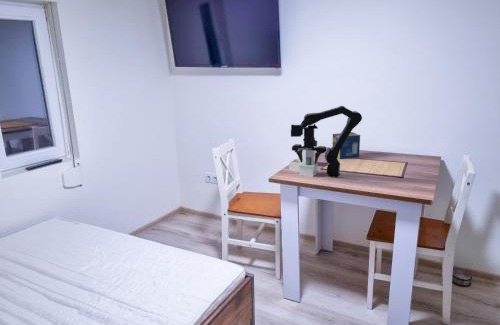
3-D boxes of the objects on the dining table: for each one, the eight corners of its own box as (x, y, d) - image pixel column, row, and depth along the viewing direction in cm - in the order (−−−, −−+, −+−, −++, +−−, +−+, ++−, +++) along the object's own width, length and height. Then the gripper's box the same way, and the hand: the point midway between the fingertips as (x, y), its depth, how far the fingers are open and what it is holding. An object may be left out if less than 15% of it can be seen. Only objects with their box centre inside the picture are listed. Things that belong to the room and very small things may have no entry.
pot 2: (317, 174, 217) (317, 164, 215) (312, 178, 210) (312, 168, 208) (304, 172, 220) (304, 163, 219) (299, 176, 213) (299, 166, 212)
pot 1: (306, 169, 227) (306, 160, 225) (302, 173, 220) (302, 163, 218) (294, 168, 230) (294, 158, 229) (289, 171, 224) (289, 162, 222)
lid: (318, 164, 215) (318, 156, 214) (313, 168, 208) (313, 160, 207) (304, 163, 219) (304, 155, 218) (298, 166, 212) (298, 158, 211)
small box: (313, 166, 234) (314, 145, 231) (305, 167, 231) (305, 147, 228) (305, 163, 241) (306, 143, 238) (297, 164, 238) (297, 144, 235)
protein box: (331, 155, 258) (332, 133, 254) (351, 153, 262) (352, 132, 258) (339, 159, 248) (340, 136, 244) (359, 157, 253) (360, 134, 249)
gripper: (329, 134, 211) (328, 161, 216) (298, 132, 220) (298, 158, 224) (323, 138, 202) (322, 166, 206) (291, 136, 211) (291, 162, 215)
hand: (308, 163), depth 213 cm, fingers open, 8 cm apart
